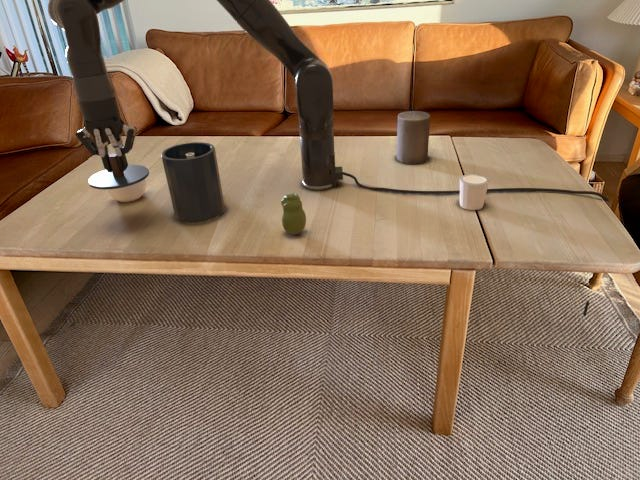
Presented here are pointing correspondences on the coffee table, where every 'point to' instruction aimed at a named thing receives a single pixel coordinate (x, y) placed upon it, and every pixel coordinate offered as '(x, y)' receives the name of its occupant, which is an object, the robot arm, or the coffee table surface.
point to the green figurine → (293, 214)
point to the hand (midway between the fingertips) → (117, 170)
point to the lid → (118, 175)
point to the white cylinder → (473, 191)
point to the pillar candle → (413, 137)
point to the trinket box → (128, 192)
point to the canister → (193, 181)
